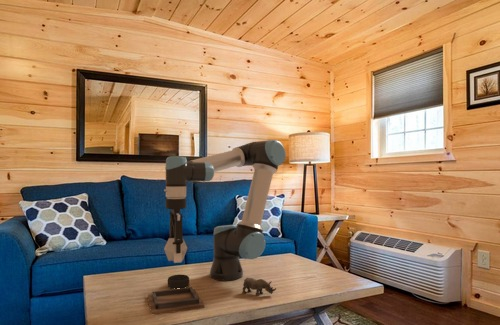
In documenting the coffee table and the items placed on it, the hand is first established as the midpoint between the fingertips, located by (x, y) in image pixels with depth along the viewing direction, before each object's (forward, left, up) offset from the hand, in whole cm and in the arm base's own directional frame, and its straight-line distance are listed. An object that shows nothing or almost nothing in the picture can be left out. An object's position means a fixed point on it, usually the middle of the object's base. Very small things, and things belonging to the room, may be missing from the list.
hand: (175, 259), depth 129 cm
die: (0, 0, 0) cm, 0 cm away
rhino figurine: (+3, +32, -16) cm, 36 cm away
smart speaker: (-18, +4, -16) cm, 25 cm away
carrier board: (0, 0, -16) cm, 16 cm away
